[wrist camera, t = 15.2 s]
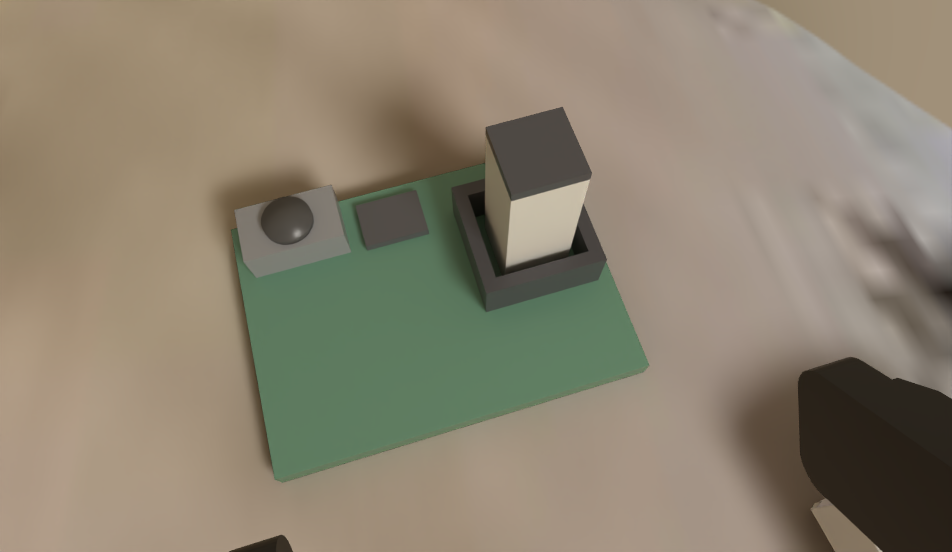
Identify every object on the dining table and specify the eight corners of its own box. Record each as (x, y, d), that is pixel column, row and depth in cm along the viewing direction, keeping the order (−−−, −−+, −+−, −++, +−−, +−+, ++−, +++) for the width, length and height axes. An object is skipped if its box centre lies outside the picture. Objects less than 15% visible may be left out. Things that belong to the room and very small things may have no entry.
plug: (504, 282, 41) (511, 195, 31) (484, 227, 42) (485, 127, 32) (565, 264, 41) (591, 172, 31) (544, 210, 43) (562, 106, 33)
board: (282, 482, 38) (257, 472, 33) (238, 240, 44) (213, 206, 39) (643, 372, 40) (662, 350, 36) (554, 156, 46) (561, 116, 42)
